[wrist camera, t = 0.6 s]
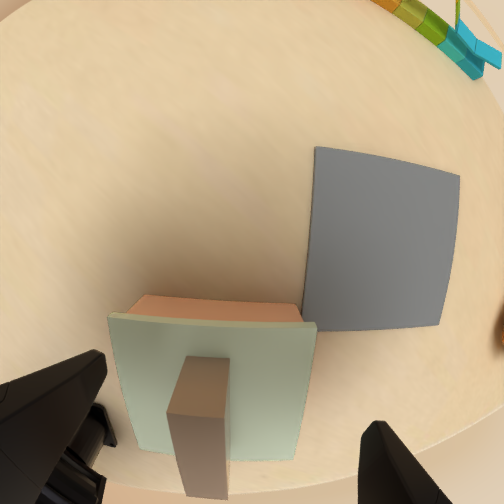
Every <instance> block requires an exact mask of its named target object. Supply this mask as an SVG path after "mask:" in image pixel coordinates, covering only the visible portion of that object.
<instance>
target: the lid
mask: <svg viewBox="0 0 504 504" xmlns="http://www.w3.org/2000/svg"><path fill="white" fill-rule="evenodd" d="M107 319H108V326H109V332H110V338H111V343H112V348H113V354H114V358H115V363H116V368H117V372H118V377H119V381H120V385H121V389H122V393H123V397H124V400H125V404H126V407H127V411H128V414H129V418H130V421H131V424H132V427H133V430H134V434H135V437H136V439H137V442H138V445H139V448H140V449H141V450H146V451H151V452H157V453H162V454H169V455H175V456H176V460H177V464H178V468H179V472H180V475H181V479H182V482H183V486H184V489H185V493H186V496H189V497H198V498H207V499H220V500H228V489H229V468H230V461H282V460H293V458H294V454H295V450H296V446H297V441H298V437H299V432H300V427H301V423H302V418H303V413H304V408H305V403H306V397H307V392H308V386H309V380H310V375H311V369H312V362H313V356H314V349H315V343H316V335H317V326H316V324H315V322H248V321H220V320H200V319H185V318H171V317H158V316H147V315H137V314H127V313H118V312H112V313H111V314H110V315H109V316H108V317H107Z"/></svg>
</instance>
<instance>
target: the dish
mask: <svg viewBox="0 0 504 504" xmlns="http://www.w3.org/2000/svg"><path fill="white" fill-rule="evenodd" d="M126 313H127V314H137V315H147V316H158V317H171V318H185V319H200V320H220V321H248V322H304V321H303V319H302V317H301V315H300V313H299V310H298V308H297V306H296V304H288V303H261V302H239V301H222V300H206V299H192V298H179V297H167V296H156V295H145V294H144V295H143V296H142V297H141V298H140V299H139V300H138V301H137V302H136V303H135V304H134V305H133V306H132V307H131V308H130V309H129V310H128V311H127V312H126Z"/></svg>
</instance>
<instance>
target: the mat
mask: <svg viewBox="0 0 504 504" xmlns="http://www.w3.org/2000/svg"><path fill="white" fill-rule="evenodd" d="M459 190H460V176H459V175H455V174H452V173H448V172H445V171H441V170H437V169H434V168H430V167H426V166H422V165H418V164H413V163H409V162H405V161H400V160H396V159H391V158H386V157H381V156H376V155H370V154H365V153H359V152H353V151H347V150H340V149H333V148H326V147H318V146H316V147H315V154H314V175H313V193H312V208H311V222H310V234H309V246H308V257H307V267H306V277H305V286H304V295H303V303H302V311H301V317H302V319H303V321H304V322H315V324H316V326H317V331H361V330H382V329H398V328H412V327H424V326H434V325H439V321H440V318H441V314H442V310H443V306H444V302H445V297H446V293H447V288H448V283H449V278H450V273H451V267H452V261H453V254H454V247H455V240H456V231H457V221H458V209H459Z"/></svg>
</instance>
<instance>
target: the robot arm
mask: <svg viewBox="0 0 504 504" xmlns="http://www.w3.org/2000/svg"><path fill="white" fill-rule="evenodd" d="M106 376H107V364H106V358H105V355H104V353H102V352H100V351H98V350H95V349H93V350H90V351H87V352H85V353H82V354H80V355H77V356H75V357H72V358H70V359H67V360H65V361H62V362H60V363H57V364H54V365H52V366H49V367H47V368H44V369H41V370H39V371H36V372H34V373H31V374H28V375H26V376H23V377H20V378H18V379H15V380H12V381H10V382H7V383H4V384H1V385H0V504H102V499H103V494H104V489H105V484H106V479H107V478H106V477H104V476H103V475H100V474H98V473H97V472H95V471H94V470H93V469H91V468H92V466H93V464H94V462H95V460H96V458H97V456H98V454H99V452H100V450H101V448H102V446H103V445H107V446H110V447H116V445H117V442H116V440H115V437H114V434H113V432H112V429H111V426H110V423H109V420H108V417H107V414H106V411H105V408H104V407H103V406H101V405H99V404H95V403H93V402H94V400H95V398H96V396H97V394H98V392H99V390H100V388H101V386H102V384H103V382H104V380H105V378H106ZM358 504H452V502H451V501H450V500H449V499H448V498H447V496H446V495H445V494H444V493H443V492H442V490H441V489H439V487H438V486H437V484H436V483H435V482H434V481H433V479H432V478H431V477H430V476H429V475H428V473H427V472H426V471H425V469H424V468H423V467H422V466H421V465H420V463H419V462H418V461H417V460H416V458H415V457H414V456H413V455H412V453H411V452H410V451H409V450H408V448H407V447H406V446H405V445H404V443H403V442H402V441H401V440H400V438H399V437H398V436H397V435H396V434H395V432H394V431H393V430H392V429H391V427H390V426H389V425H388V424H387V422H385V421H377V420H376V421H373V422H372V423H371V424H370V426H369V427H368V428H367V429H366V430H365V432H364V433H363V434H362V437H361V444H360V457H359V468H358Z"/></svg>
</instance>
